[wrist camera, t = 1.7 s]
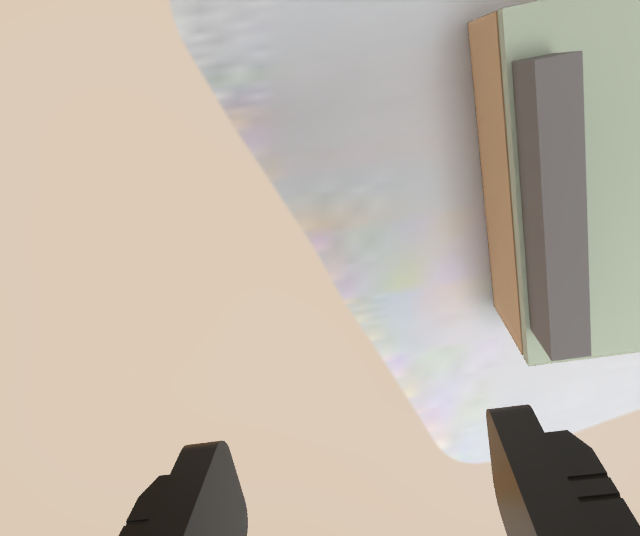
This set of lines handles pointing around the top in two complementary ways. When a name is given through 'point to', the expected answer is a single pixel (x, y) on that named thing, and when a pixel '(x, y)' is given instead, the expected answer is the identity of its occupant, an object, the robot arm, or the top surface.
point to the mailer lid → (574, 174)
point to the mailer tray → (495, 169)
